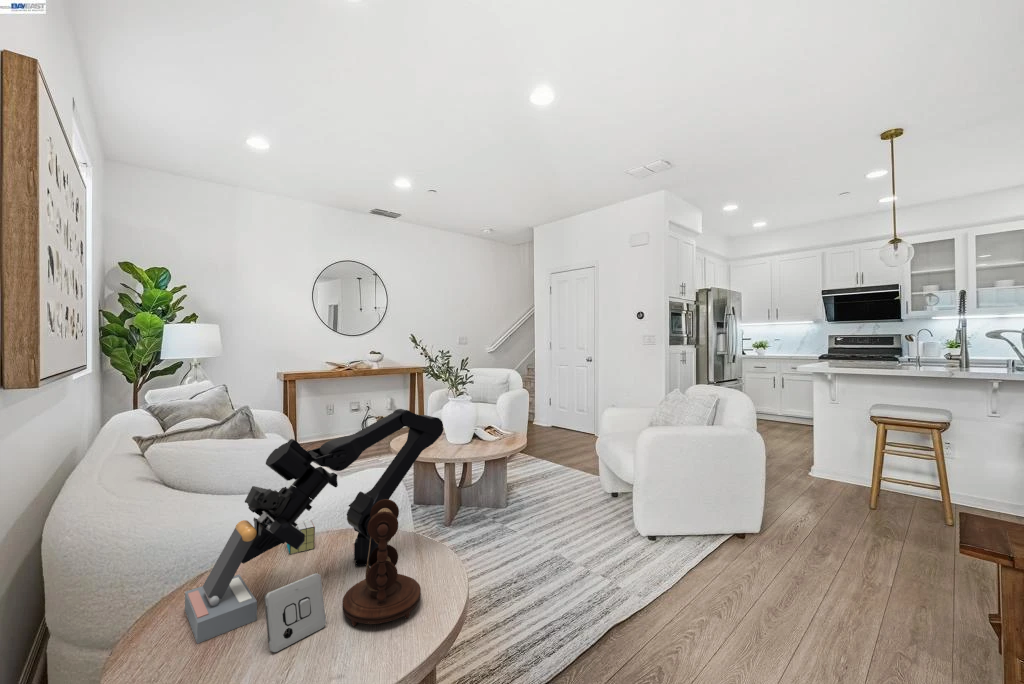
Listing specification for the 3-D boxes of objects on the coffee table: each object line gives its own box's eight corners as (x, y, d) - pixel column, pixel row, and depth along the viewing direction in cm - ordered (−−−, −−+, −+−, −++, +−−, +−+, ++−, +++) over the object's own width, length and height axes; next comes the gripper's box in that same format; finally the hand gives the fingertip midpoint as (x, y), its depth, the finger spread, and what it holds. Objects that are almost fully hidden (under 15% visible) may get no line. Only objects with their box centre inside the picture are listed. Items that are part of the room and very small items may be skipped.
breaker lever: (212, 591, 82) (251, 520, 87) (220, 607, 77) (261, 530, 82) (197, 589, 80) (238, 517, 85) (205, 605, 75) (247, 528, 80)
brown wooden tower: (347, 590, 88) (349, 495, 89) (419, 582, 92) (420, 490, 92) (336, 637, 74) (338, 523, 74) (421, 625, 78) (423, 516, 78)
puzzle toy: (286, 546, 108) (287, 523, 108) (311, 540, 111) (311, 518, 111) (289, 555, 103) (289, 531, 103) (314, 549, 106) (315, 526, 106)
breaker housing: (238, 591, 88) (239, 573, 88) (256, 620, 78) (257, 600, 78) (184, 609, 81) (185, 590, 81) (197, 643, 72) (197, 621, 72)
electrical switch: (272, 656, 69) (271, 597, 70) (259, 645, 73) (258, 589, 73) (326, 627, 77) (325, 574, 77) (313, 618, 80) (312, 568, 81)
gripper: (260, 462, 93) (197, 526, 85) (289, 481, 80) (217, 559, 72) (297, 490, 98) (241, 552, 90) (329, 512, 85) (267, 588, 77)
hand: (241, 562), depth 82 cm, fingers closed
